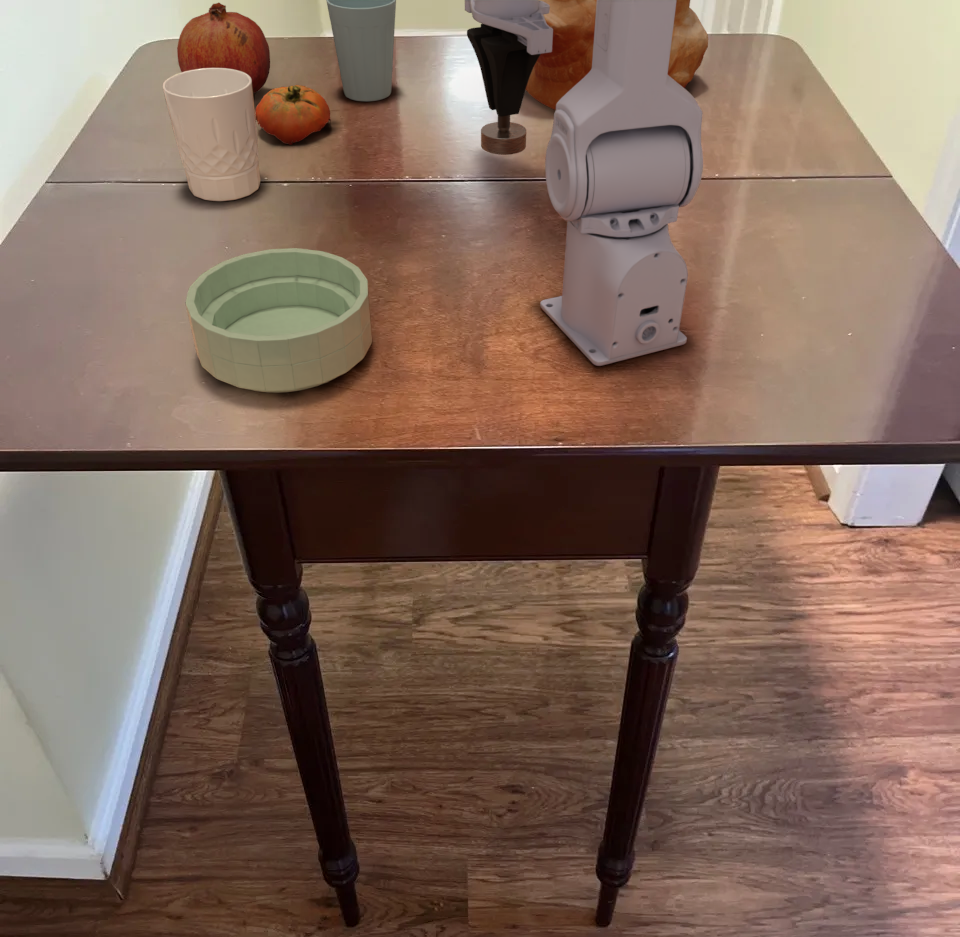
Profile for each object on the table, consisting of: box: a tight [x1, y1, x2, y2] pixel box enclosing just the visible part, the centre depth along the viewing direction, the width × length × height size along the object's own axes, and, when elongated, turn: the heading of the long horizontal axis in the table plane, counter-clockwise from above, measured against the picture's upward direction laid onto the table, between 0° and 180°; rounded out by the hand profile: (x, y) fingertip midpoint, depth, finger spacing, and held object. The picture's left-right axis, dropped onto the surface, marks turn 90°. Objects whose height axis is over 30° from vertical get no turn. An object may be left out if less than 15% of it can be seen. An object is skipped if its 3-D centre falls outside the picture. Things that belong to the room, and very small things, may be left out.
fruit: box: [176, 2, 271, 95], centre depth 108 cm, size 11×10×10 cm
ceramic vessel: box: [525, 0, 709, 111], centre depth 109 cm, size 14×26×15 cm, turn 117°
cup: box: [326, 0, 397, 102], centre depth 109 cm, size 8×8×10 cm
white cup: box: [161, 68, 261, 202], centre depth 90 cm, size 8×8×10 cm
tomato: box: [255, 84, 332, 146], centre depth 103 cm, size 8×7×7 cm
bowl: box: [184, 247, 373, 394], centre depth 70 cm, size 13×13×5 cm
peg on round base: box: [480, 115, 527, 156], centre depth 91 cm, size 4×4×9 cm
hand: (504, 111), depth 91 cm, fingers closed on peg on round base
